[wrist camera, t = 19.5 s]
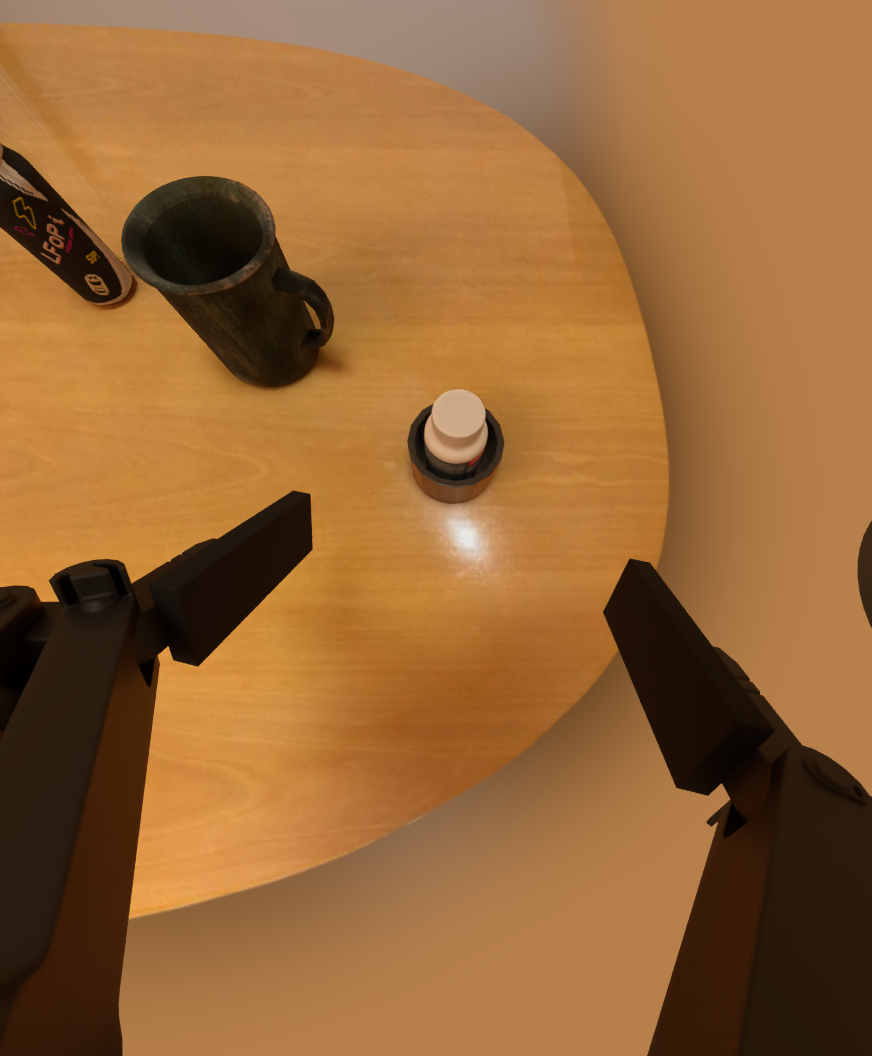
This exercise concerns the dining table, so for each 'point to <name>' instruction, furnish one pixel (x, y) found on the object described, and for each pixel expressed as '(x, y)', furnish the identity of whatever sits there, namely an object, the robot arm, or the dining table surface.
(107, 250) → the beverage can
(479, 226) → the dining table surface
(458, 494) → the dark grey round container
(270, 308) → the mug
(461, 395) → the pill bottle
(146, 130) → the dining table surface
